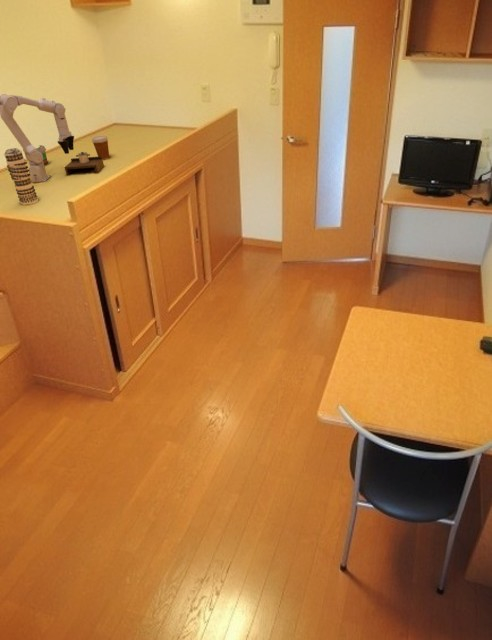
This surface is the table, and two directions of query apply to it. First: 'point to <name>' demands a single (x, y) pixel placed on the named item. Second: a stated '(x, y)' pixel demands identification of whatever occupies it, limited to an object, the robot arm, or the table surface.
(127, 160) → the table surface
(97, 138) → the disposable coffee cup
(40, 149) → the food container
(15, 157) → the leaning tower model
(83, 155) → the pot
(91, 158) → the shelf
